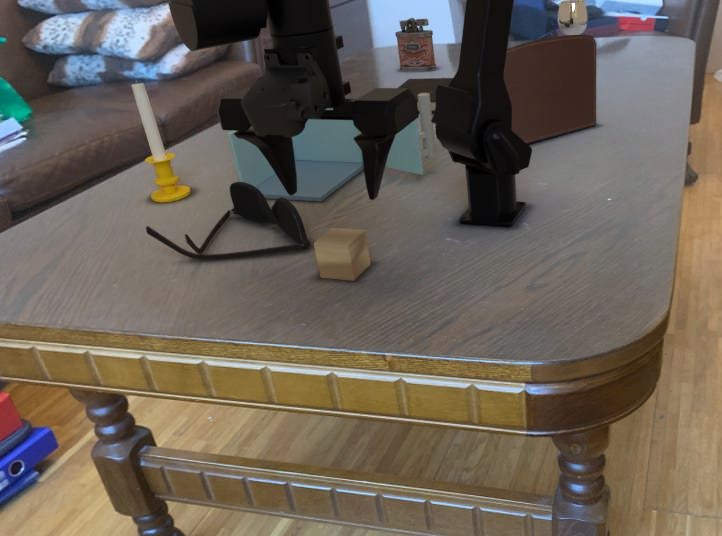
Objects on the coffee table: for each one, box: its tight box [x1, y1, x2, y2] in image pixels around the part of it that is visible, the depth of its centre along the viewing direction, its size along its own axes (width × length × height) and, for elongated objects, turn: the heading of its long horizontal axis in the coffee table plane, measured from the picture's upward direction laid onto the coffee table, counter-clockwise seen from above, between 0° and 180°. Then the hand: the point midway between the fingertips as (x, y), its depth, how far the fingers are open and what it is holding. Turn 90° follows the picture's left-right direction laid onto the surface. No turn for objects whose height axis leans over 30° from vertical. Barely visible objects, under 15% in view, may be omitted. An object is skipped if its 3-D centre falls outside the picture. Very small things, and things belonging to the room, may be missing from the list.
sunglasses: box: [145, 181, 311, 261], centre depth 87 cm, size 17×14×5 cm
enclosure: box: [226, 108, 364, 203], centre depth 104 cm, size 14×12×9 cm
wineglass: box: [557, 0, 588, 36], centre depth 150 cm, size 6×6×12 cm
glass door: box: [357, 93, 437, 175], centre depth 104 cm, size 12×4×10 cm, turn 51°
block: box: [313, 227, 372, 282], centre depth 80 cm, size 4×4×4 cm
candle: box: [131, 79, 192, 203], centre depth 101 cm, size 5×5×16 cm
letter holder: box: [504, 34, 597, 145], centre depth 114 cm, size 10×20×14 cm, turn 123°
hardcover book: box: [397, 77, 453, 114], centre depth 137 cm, size 16×23×2 cm
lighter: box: [394, 17, 437, 72], centre depth 159 cm, size 8×3×10 cm, turn 73°
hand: (332, 196), depth 77 cm, fingers open, 9 cm apart
